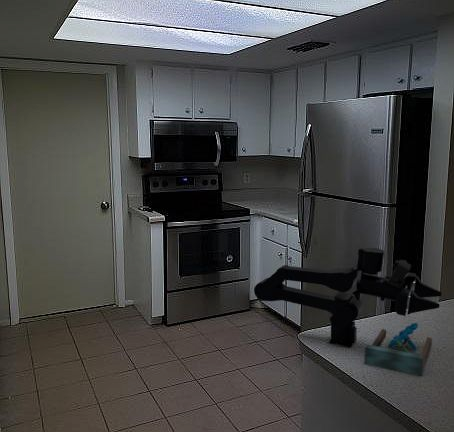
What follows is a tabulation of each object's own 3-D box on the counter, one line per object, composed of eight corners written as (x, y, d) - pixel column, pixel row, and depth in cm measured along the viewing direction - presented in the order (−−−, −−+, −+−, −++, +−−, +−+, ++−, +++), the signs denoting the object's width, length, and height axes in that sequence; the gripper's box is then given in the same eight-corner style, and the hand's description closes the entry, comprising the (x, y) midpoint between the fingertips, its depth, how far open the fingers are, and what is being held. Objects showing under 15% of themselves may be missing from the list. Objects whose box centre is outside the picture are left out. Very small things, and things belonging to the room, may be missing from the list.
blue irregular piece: (393, 332, 137) (418, 316, 131) (408, 348, 136) (434, 332, 130) (381, 349, 129) (407, 333, 123) (396, 367, 127) (423, 351, 121)
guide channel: (364, 363, 121) (364, 347, 120) (381, 335, 139) (382, 321, 139) (421, 375, 114) (422, 358, 113) (431, 344, 132) (432, 329, 132)
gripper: (376, 269, 118) (443, 281, 111) (388, 251, 134) (447, 261, 127) (371, 309, 121) (436, 324, 114) (383, 286, 137) (440, 298, 130)
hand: (440, 299), depth 121 cm, fingers open, 9 cm apart
